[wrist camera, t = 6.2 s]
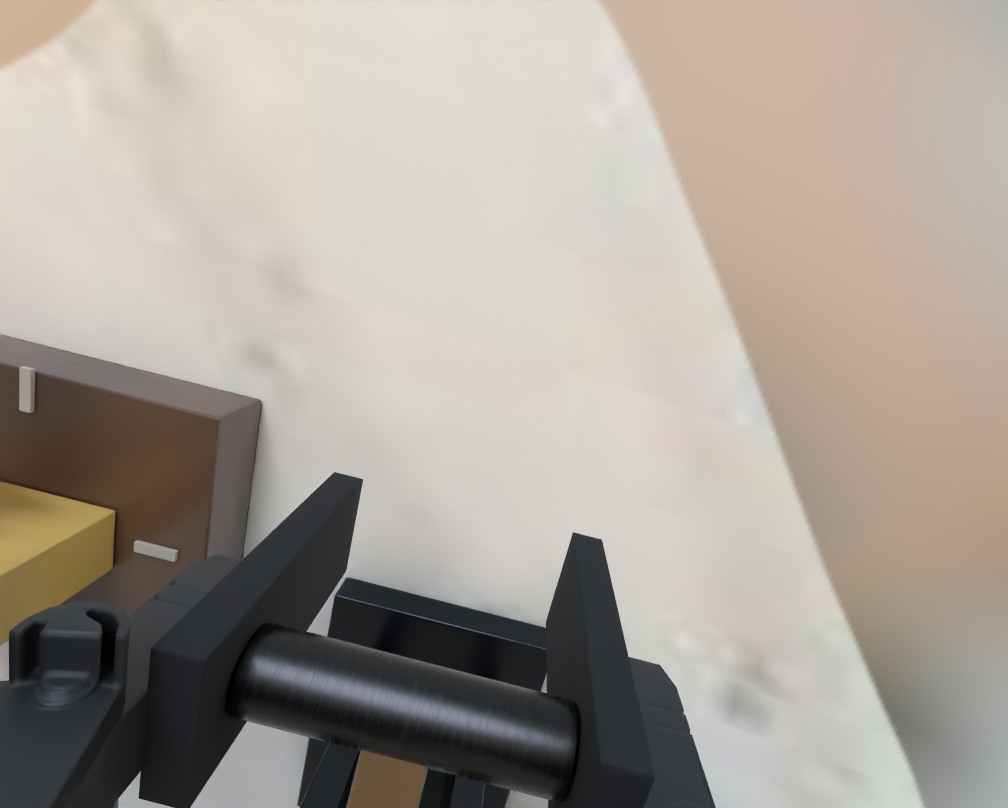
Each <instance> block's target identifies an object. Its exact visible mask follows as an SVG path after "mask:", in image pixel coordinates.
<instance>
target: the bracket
mask: <svg viewBox="0 0 1008 808" xmlns="http://www.w3.org/2000/svg"><path fill="white" fill-rule="evenodd" d="M327 637H329V638H333V639H337V640H341V641H345V642H349V643H353V644H356V645H360V646H364V647H368V648H372V649H376V650H380V651H384V652H388V653H391V654H395V655H399V656H403V657H407V658H411V659H415V660H419V661H423V662H426V663H430V664H434V665H438V666H442V667H446V668H450V669H454V670H457V671H461V672H465V673H469V674H473V675H477V676H481V677H485V678H489V679H492V680H496V681H500V682H504V683H508V684H512V685H516V686H520V687H524V688H527V689H531V690H535V691H539V692H541V689H542V686H543V683H544V680H545V676H546V673H547V649H546V628H544V627H540V626H536V625H532V624H528V623H524V622H521V621H517V620H513V619H509V618H505V617H501V616H497V615H493V614H489V613H485V612H481V611H478V610H474V609H470V608H466V607H462V606H458V605H454V604H450V603H446V602H442V601H438V600H435V599H431V598H427V597H423V596H419V595H415V594H411V593H407V592H403V591H399V590H395V589H392V588H388V587H384V586H380V585H376V584H372V583H368V582H364V581H360V580H356V579H352V578H349V577H348V578H346V579H345V581H344V582H343V584H342V585H341V587H340V588H339V590H338V591H337V593H336V594H335V597H334V603H333V608H332V614H331V620H330V625H329V631H328V636H327ZM360 752H361V751H360V750H357V749H353V748H349V747H345V746H341V745H337V744H333V743H330V742H326V741H322V740H318V739H314V738H310V737H309V742H308V748H307V753H306V759H305V764H304V770H303V776H302V781H301V787H300V792H299V798H298V804H297V805H298V806H299V807H300V808H346V807H347V803H348V799H349V795H350V791H351V787H352V783H353V779H354V775H355V771H356V767H357V764H358V760H359V756H360ZM509 792H510V789H507V788H503V787H499V786H495V785H491V784H487V783H483V782H480V781H476V780H472V779H468V778H464V777H460V776H457V775H453V774H449V773H445V772H441V771H437V770H433V769H430V768H428V772H427V776H426V780H425V784H424V788H423V792H422V796H421V800H420V804H419V808H505V805H506V802H507V799H508V796H509Z"/></svg>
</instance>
